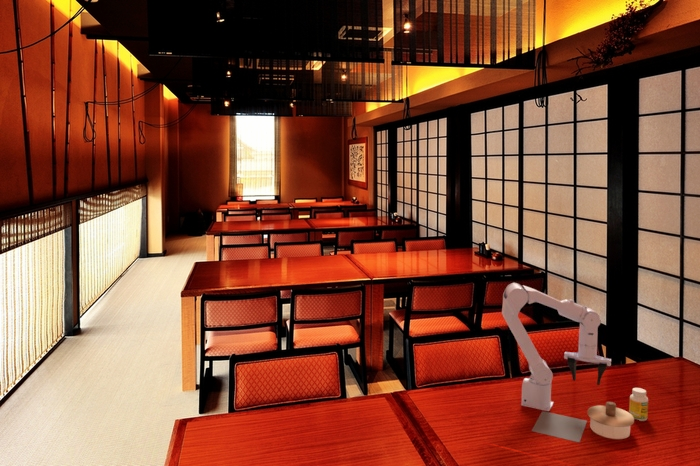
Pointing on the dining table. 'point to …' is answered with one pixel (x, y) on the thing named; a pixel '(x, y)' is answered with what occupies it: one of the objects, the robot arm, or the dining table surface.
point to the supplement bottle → (638, 404)
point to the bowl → (610, 430)
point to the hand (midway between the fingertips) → (586, 381)
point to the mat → (560, 426)
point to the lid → (610, 415)
